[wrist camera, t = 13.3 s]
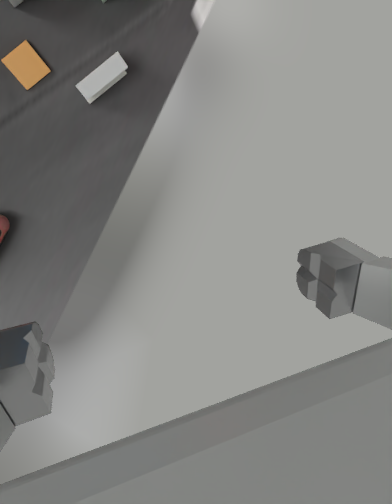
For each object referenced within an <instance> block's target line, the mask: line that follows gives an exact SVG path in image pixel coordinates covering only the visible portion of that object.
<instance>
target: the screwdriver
mask: <svg viewBox="0 0 392 504" xmlns="http://www.w3.org/2000/svg"><path fill="white" fill-rule="evenodd" d="M9 225H10V224H9V221H8V219H7V218H6V217H5V216H3V215H0V246H1V244H2V242H3V240H4V238H5V236H6V234H7V232H8V230H9Z"/></svg>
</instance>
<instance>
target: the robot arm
mask: <svg viewBox="0 0 392 504" xmlns="http://www.w3.org/2000/svg"><path fill="white" fill-rule="evenodd" d="M298 262H299V264H300V265H301V267H300V268H299V270H298V272H297V284H298V287H299V290H300V291H301V293H302V294H303V295H304V296H305V297H306V298H307V299H310V300H313V301H316V307H317V308H318V309H319V310H320V311H321V312H322V313H323V314H325V315H326V316H327V317H328V318H329V319H331V318H335V317H338V316H341V315H344V314H348V313H351V312H353V314H356V315H358V316H361V317H363V318H365V319H368V320H370V321H373V322H375V323H377V324H380V325H382V326H385V327H387V328H390V329H392V258H389V257H380V258H379V257H377V256H376V255H374V254H372V253H370V252H368V251H366V250H365V249H363V248H361V247H359V246H357V245H356V244H354V243H352V242H350V241H348V240H347V239H345V238H337V239H334V240H331V241H328V242H325V243H322V244H318V245H315V246H312V247H308V248H305V249H301V250H300V251H299V253H298ZM42 335H43V332H42V330H41V328H40V326H39V324H38V323H37V322H31V323H27V324H23V325H19V326H15V327H11V328H7V329H3V330H0V451H1V450H2V448H3V447H4V445H5V444H6V442H7V440H8V439H9V437H10V436H11V435H12V433H13V431H14V430H15V426H18V425H20V424H23V423H26V422H29V421H31V420H34V419H36V418H39V417H42V416H45V415H48V414H50V413H51V408H52V397H53V391H52V389H51V387H50V383H51V382H52V380H53V379H54V372H55V368H54V360H53V356H52V353H51V350H50V348H49V345H48V344H46V343H44V342H42ZM0 504H392V338H391V339H388V340H385V341H383V342H380V343H377V344H375V345H372V346H369V347H367V348H364V349H361V350H359V351H356V352H353V353H350V354H348V355H345V356H343V357H340V358H337V359H334V360H332V361H329V362H326V363H324V364H321V365H318V366H316V367H313V368H310V369H307V370H305V371H302V372H299V373H297V374H294V375H291V376H289V377H286V378H283V379H281V380H278V381H275V382H273V383H270V384H267V385H265V386H262V387H259V388H257V389H254V390H251V391H249V392H246V393H244V394H241V395H238V396H235V397H233V398H230V399H227V400H225V401H222V402H219V403H217V404H214V405H211V406H209V407H206V408H203V409H201V410H198V411H196V412H193V413H190V414H188V415H185V416H182V417H180V418H177V419H174V420H171V421H169V422H166V423H163V424H161V425H158V426H156V427H153V428H150V429H147V430H145V431H142V432H139V433H137V434H134V435H132V436H129V437H126V438H123V439H120V440H118V441H115V442H112V443H110V444H107V445H104V446H102V447H99V448H97V449H94V450H91V451H88V452H86V453H83V454H80V455H78V456H75V457H72V458H70V459H67V460H64V461H62V462H59V463H56V464H54V465H51V466H48V467H46V468H43V469H40V470H38V471H35V472H33V473H30V474H27V475H24V476H22V477H19V478H16V479H14V480H11V481H8V482H6V483H3V484H0Z"/></svg>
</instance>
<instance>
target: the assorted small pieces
mask: <svg viewBox="0 0 392 504" xmlns="http://www.w3.org/2000/svg"><path fill="white" fill-rule="evenodd" d="M8 1H9V2H10V3H11V4H12V6H13V7H14V8H15V7H16V6H18V5H19V4H20V3H21V2H23V1H24V0H8ZM106 1H107V0H102V2H103V3H105V2H106ZM1 61H2V62H3V63H4V64H5V66H6V67H7V68H8V69H9V70H10V71H11V72H12V74H13V75H14V76H15V77H16V78H17V79H18V80H19V81H20V83H21V84H22V85H23V86H24V87H25V88H26V89H27V90H29V89H30V88H31V87H32V86H34V85H35V84H36V83H37V82H38V81H40V80H41V79H42V78H43V77H45V76H46V75H47V74H48V73H49V72H51V70H50V69H49V68H48V67H47V65H46V64H45V63H44V62H43V60H42V59H41V58H40V57H39V56H38V54H37V53H36V52H35V51H34V49H33V48H32V47H31V46H30V44H29V43H28V42H27V41H26V40H25V41H24V42H23V43H21V44H20V45H19V46H18V47H17V48H15V49H14V50H13V51H12V52H10V53H9V54H8V55H7V56H6V57H4V58H3V59H2V60H1ZM127 68H128V66H127V65H126V63H125V62H124V60H123V59H122V57H121V56H120V54H119V53H118V51H117V52H116V53H115V54H114V55H112V56H111V57H110V58H109V59H108V60H106V61H105V62H104V63H103V64H101V65H100V66H99V67H98V68H96V69H95V70H94V71H93V72H92V73H90V74H89V75H88V76H87V77H85V78H84V79H83V80H82V81H81V82H79V83H78V84H77V85H76V87H77V88H78V90H79V91H80V92H81V93H82V95H83V96H84V97H85V99H86V100H87V101H88V102H89V104H90V103H92V102H93V101H94V100H95V99H96V98H98V97H99V96H100V95H101V94H103V93H104V92H105V91H106V90H108V89H109V88H110V87H111V86H113V85H114V84H115V83H116V82H117V81H119V80H120V79H121V78H122V77H124V76H125V75H126V74H127V73H126V71H125V69H127Z"/></svg>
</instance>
